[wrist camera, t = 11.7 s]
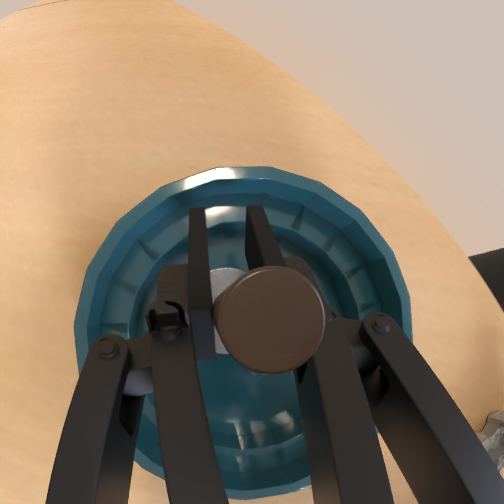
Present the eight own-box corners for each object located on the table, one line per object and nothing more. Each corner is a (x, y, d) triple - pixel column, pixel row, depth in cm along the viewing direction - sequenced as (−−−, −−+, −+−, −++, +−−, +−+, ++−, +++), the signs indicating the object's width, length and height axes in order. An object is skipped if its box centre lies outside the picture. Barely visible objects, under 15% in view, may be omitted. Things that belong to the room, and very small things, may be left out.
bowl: (410, 338, 23) (454, 342, 18) (231, 499, 19) (239, 540, 13) (258, 150, 24) (272, 111, 18) (56, 312, 19) (18, 312, 14)
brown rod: (281, 314, 20) (430, 324, 6) (220, 366, 18) (258, 490, 5) (230, 253, 20) (285, 141, 6) (168, 304, 19) (80, 299, 5)
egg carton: (499, 399, 24) (524, 404, 20) (503, 441, 23) (526, 447, 19) (437, 463, 21) (462, 476, 17) (446, 500, 21) (467, 513, 17)
